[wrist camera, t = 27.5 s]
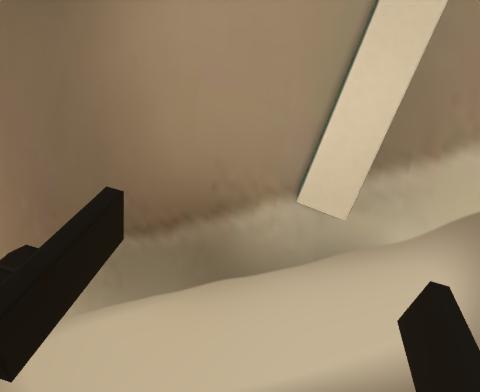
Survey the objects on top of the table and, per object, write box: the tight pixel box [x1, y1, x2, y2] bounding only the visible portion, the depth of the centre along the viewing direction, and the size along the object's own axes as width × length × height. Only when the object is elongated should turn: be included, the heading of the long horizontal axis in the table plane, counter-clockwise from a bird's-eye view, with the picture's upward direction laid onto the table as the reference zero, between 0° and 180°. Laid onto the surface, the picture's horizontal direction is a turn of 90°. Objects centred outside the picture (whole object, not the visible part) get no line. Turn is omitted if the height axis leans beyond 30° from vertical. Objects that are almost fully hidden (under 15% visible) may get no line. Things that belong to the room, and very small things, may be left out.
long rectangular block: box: [297, 0, 448, 221], centre depth 26 cm, size 22×4×5 cm, turn 161°
